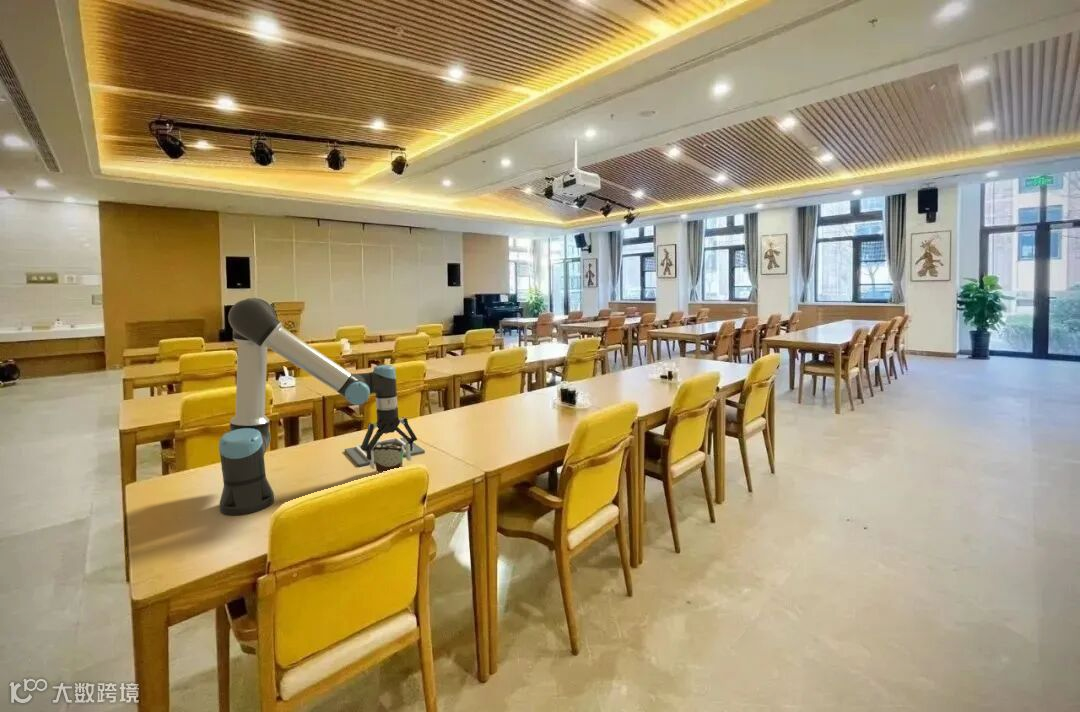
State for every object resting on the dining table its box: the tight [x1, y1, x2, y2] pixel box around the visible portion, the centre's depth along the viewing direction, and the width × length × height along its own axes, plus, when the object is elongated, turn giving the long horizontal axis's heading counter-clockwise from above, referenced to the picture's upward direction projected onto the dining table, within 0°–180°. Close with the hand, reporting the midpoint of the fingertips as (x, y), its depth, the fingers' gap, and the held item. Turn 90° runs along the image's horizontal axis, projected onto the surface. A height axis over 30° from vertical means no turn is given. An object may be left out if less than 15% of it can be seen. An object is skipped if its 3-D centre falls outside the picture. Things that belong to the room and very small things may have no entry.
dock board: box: [344, 437, 426, 468], centre depth 214 cm, size 26×22×2 cm
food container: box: [372, 441, 405, 473], centre depth 194 cm, size 12×6×10 cm, turn 80°
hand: (390, 463), depth 194 cm, fingers open, 13 cm apart
